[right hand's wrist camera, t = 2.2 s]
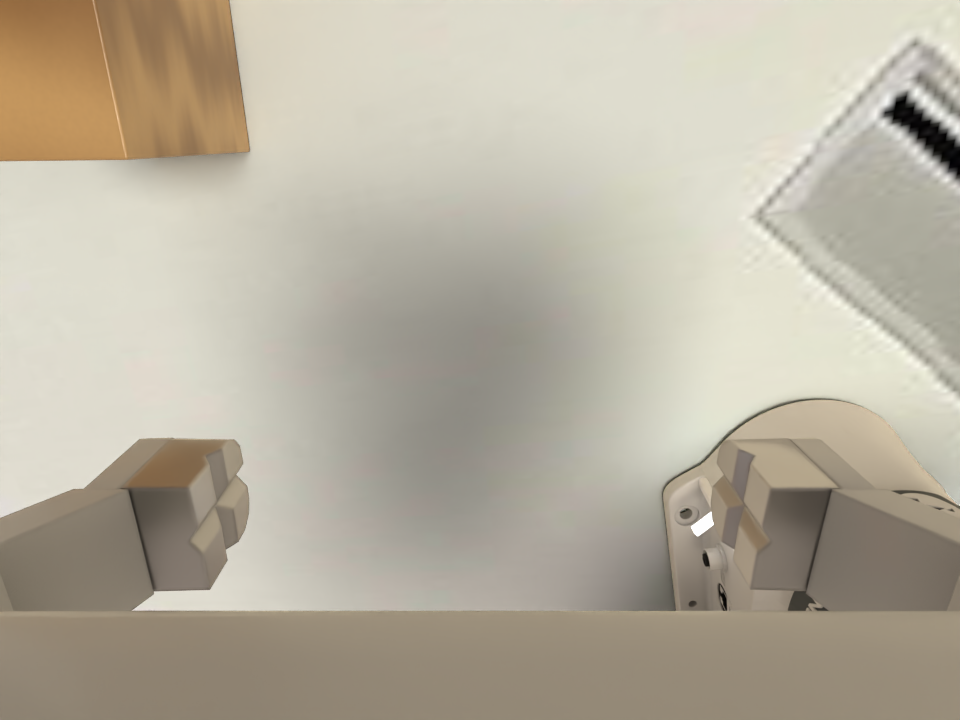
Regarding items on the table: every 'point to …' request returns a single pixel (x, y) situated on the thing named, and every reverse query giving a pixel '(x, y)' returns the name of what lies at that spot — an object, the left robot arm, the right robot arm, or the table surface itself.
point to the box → (118, 80)
